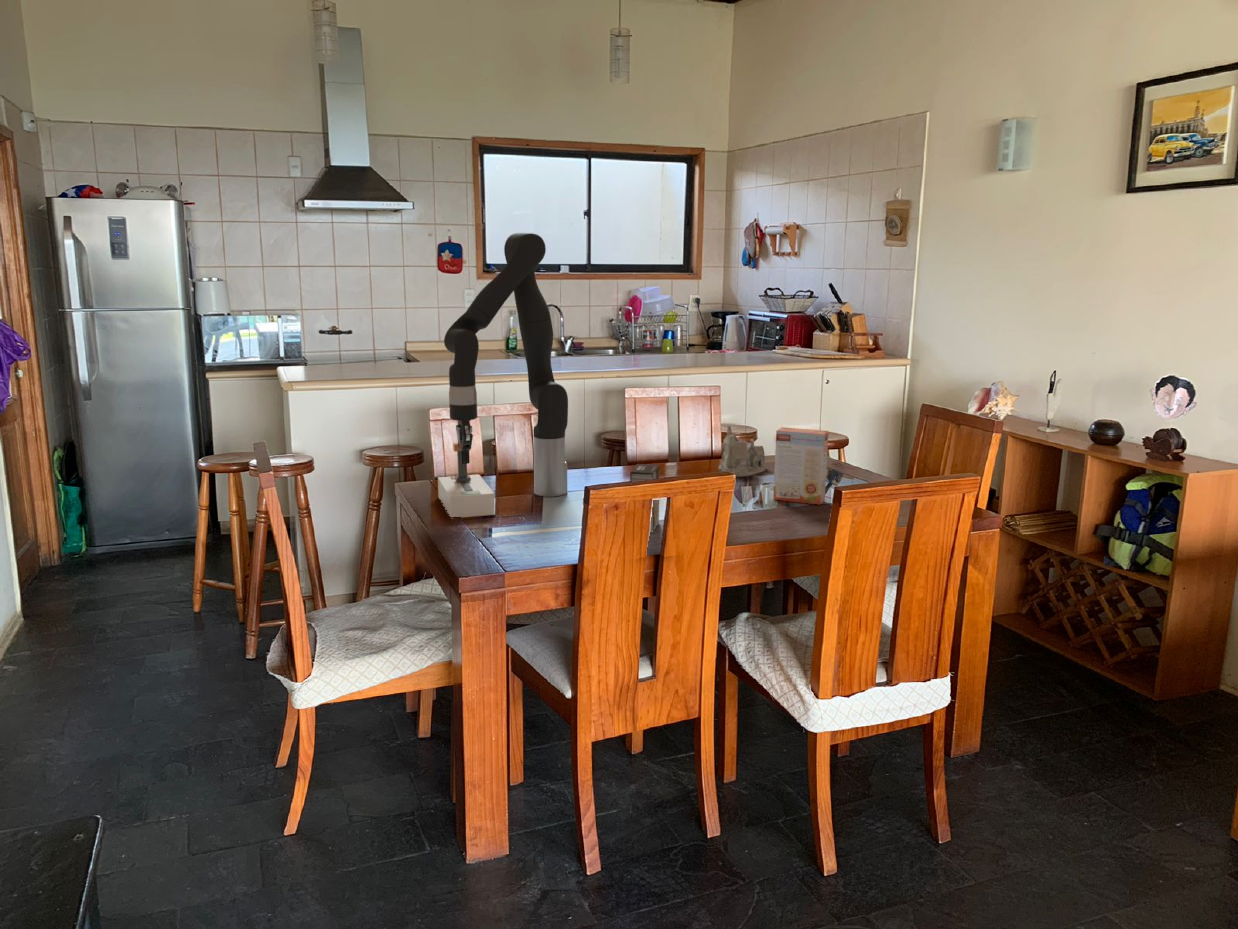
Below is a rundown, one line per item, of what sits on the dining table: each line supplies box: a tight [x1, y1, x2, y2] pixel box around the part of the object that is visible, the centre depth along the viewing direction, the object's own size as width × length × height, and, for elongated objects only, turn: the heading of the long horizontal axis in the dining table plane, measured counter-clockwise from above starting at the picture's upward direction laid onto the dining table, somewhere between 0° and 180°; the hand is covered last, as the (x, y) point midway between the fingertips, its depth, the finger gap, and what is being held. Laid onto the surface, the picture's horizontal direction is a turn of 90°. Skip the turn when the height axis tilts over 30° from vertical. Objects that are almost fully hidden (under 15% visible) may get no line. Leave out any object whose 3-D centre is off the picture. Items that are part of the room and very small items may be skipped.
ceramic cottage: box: [718, 424, 766, 477], centre depth 303 cm, size 16×16×15 cm
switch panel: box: [437, 474, 496, 518], centre depth 260 cm, size 12×22×6 cm, turn 19°
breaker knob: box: [452, 442, 471, 482], centre depth 262 cm, size 4×3×11 cm
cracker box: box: [773, 426, 829, 506], centre depth 267 cm, size 14×6×21 cm, turn 65°
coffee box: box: [629, 463, 661, 532], centre depth 241 cm, size 9×6×16 cm
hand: (465, 463), depth 257 cm, fingers closed
